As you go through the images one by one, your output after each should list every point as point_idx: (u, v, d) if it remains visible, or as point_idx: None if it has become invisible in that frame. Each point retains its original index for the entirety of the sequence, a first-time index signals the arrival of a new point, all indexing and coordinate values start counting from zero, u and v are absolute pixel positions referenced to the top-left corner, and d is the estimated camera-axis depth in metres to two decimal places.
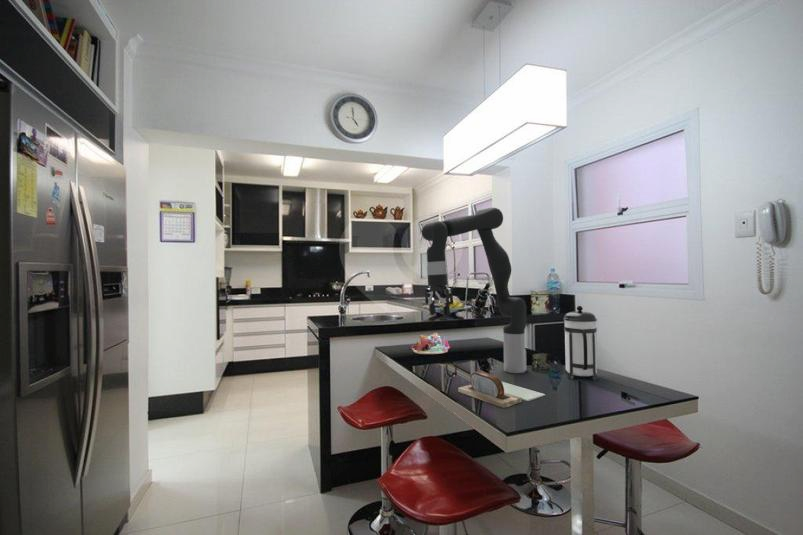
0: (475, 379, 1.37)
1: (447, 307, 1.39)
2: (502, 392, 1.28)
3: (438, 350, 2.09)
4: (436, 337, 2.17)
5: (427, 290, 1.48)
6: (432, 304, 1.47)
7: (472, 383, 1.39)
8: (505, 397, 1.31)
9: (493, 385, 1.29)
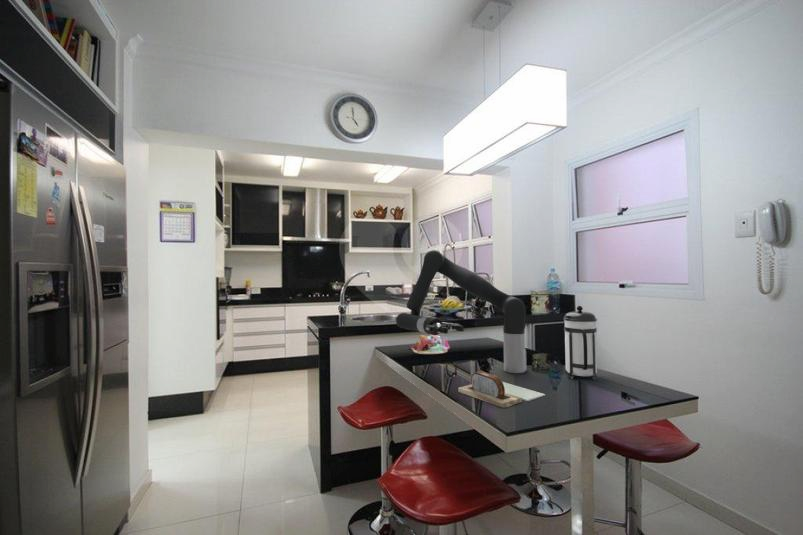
0: (476, 379, 1.37)
1: (439, 330, 1.48)
2: (502, 392, 1.28)
3: (438, 350, 2.09)
4: (436, 337, 2.17)
5: (449, 327, 1.60)
6: (455, 327, 1.54)
7: (472, 383, 1.39)
8: (505, 397, 1.31)
9: (494, 385, 1.29)
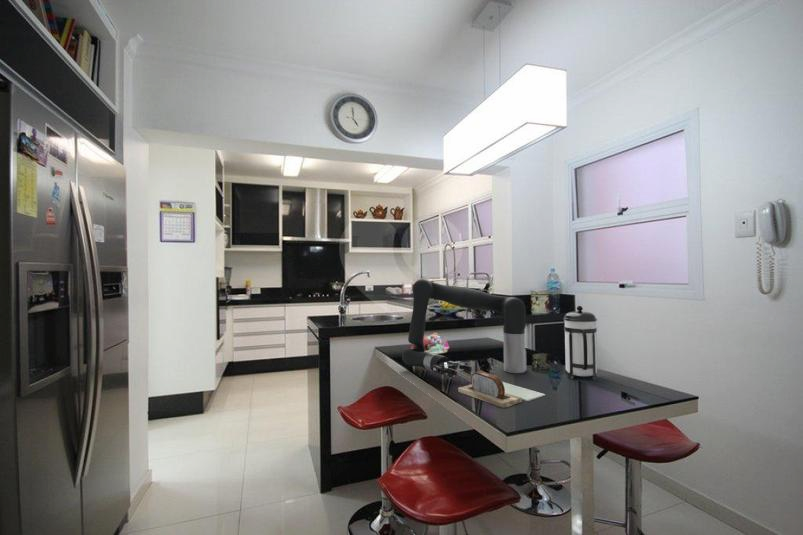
0: (476, 379, 1.37)
1: (447, 372, 1.45)
2: (502, 392, 1.28)
3: (438, 350, 2.09)
4: (436, 337, 2.17)
5: (456, 366, 1.56)
6: (463, 367, 1.51)
7: (472, 383, 1.39)
8: (505, 397, 1.31)
9: (494, 385, 1.29)
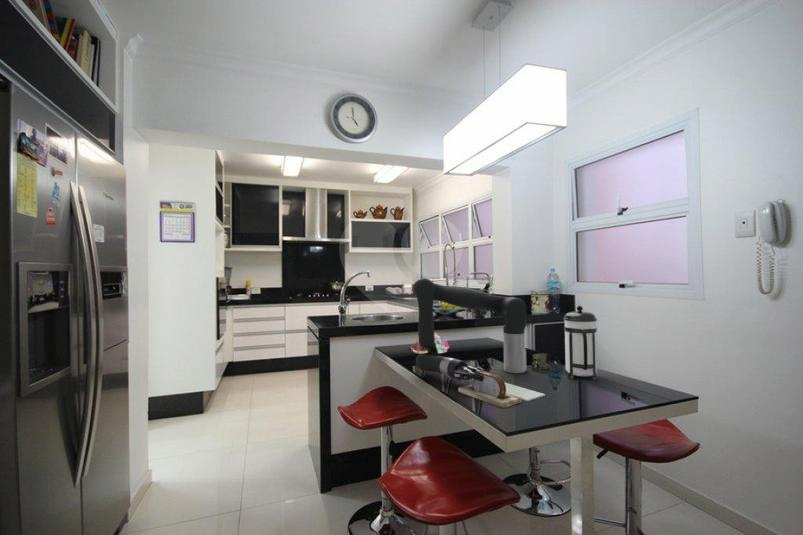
0: None
1: (474, 377, 1.36)
2: (504, 392, 1.29)
3: (437, 350, 2.09)
4: (435, 337, 2.17)
5: None
6: None
7: (473, 382, 1.39)
8: (505, 397, 1.31)
9: (495, 384, 1.30)
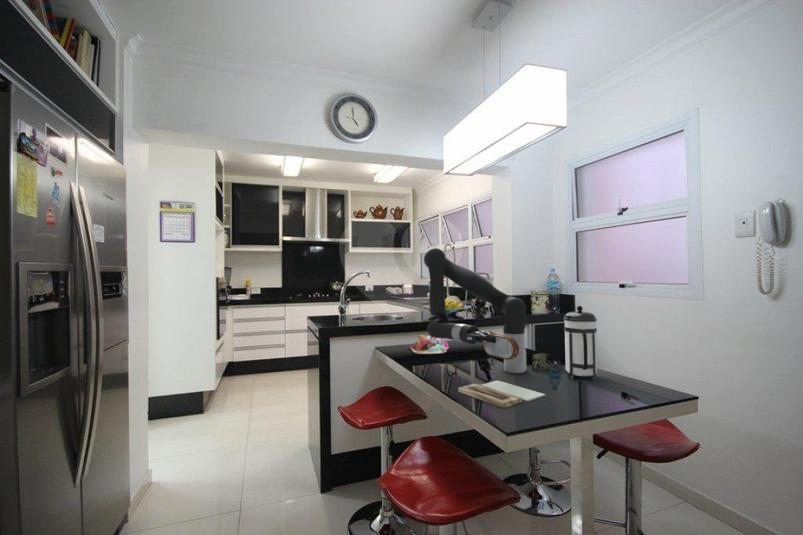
0: None
1: (486, 339, 1.40)
2: (517, 351, 1.33)
3: (437, 350, 2.09)
4: None
5: None
6: None
7: (485, 345, 1.43)
8: (505, 397, 1.31)
9: (508, 344, 1.34)
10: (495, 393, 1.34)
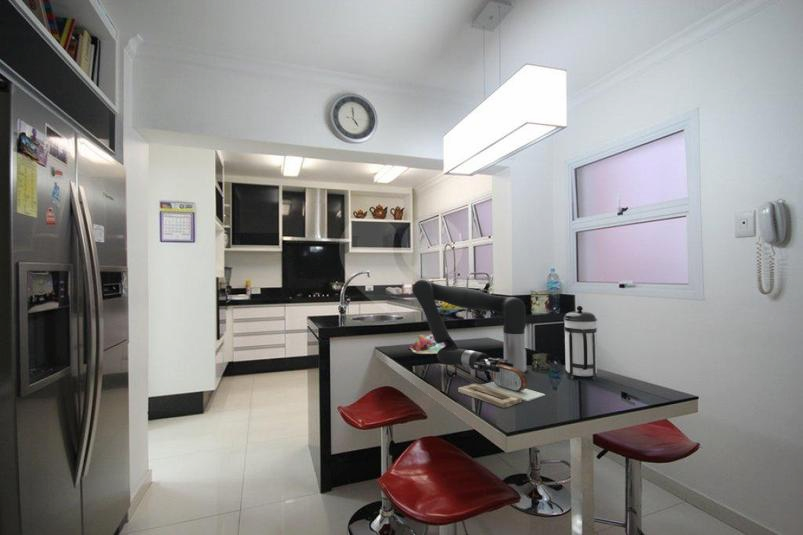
0: None
1: (490, 369, 1.43)
2: (525, 384, 1.35)
3: (437, 350, 2.09)
4: None
5: (496, 363, 1.54)
6: (503, 364, 1.48)
7: (493, 376, 1.46)
8: (505, 397, 1.31)
9: (517, 377, 1.36)
10: (495, 393, 1.34)
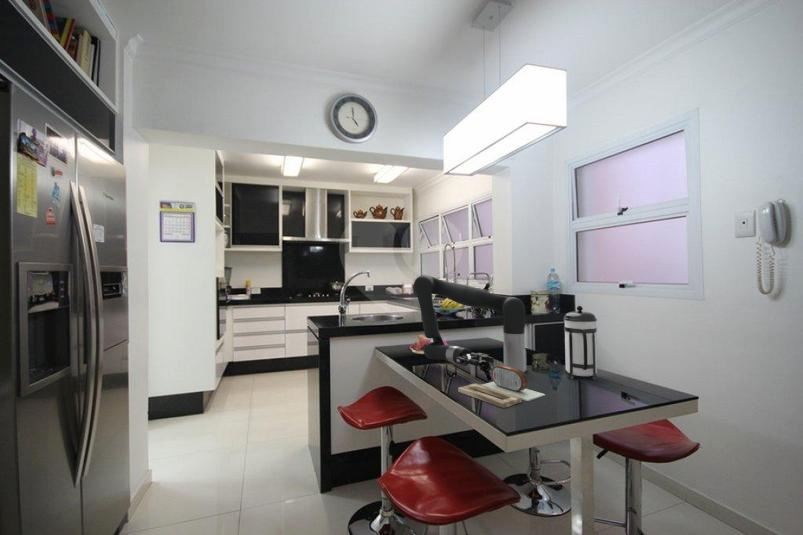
0: (497, 372, 1.44)
1: (470, 363, 1.51)
2: (525, 384, 1.35)
3: None
4: None
5: (478, 357, 1.62)
6: (485, 358, 1.57)
7: (493, 376, 1.46)
8: (505, 397, 1.31)
9: (517, 377, 1.36)
10: (495, 393, 1.34)
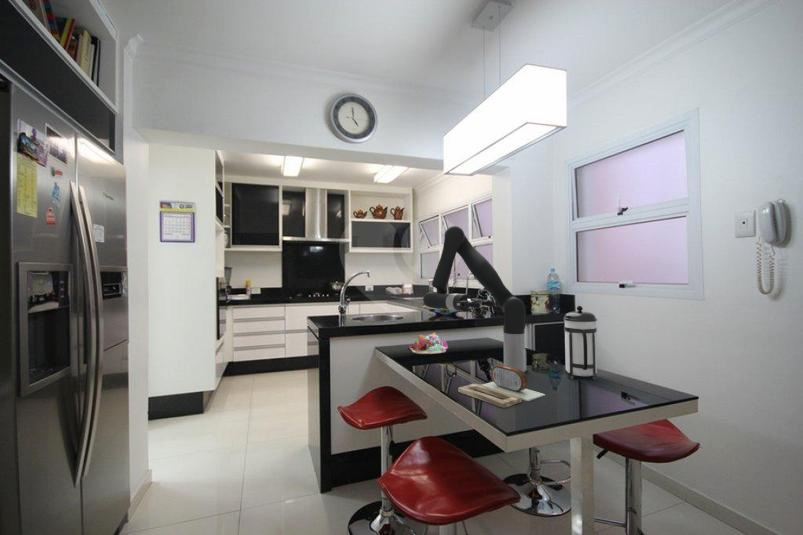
0: (497, 372, 1.44)
1: (471, 305, 1.48)
2: (525, 384, 1.35)
3: (436, 350, 2.09)
4: (434, 337, 2.18)
5: None
6: (486, 303, 1.54)
7: (493, 376, 1.46)
8: (505, 397, 1.31)
9: (517, 377, 1.36)
10: (495, 393, 1.34)
